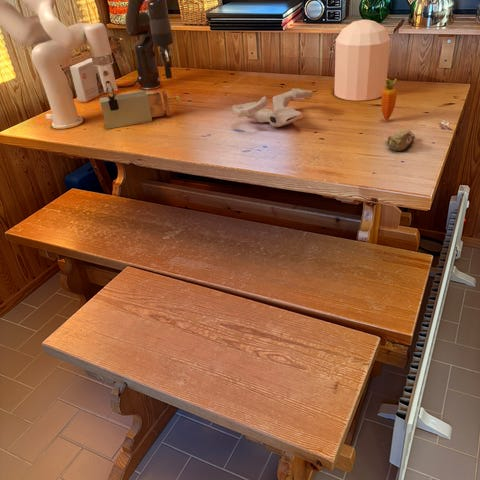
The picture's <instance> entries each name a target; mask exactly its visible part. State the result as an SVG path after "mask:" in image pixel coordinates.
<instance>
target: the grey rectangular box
mask: <svg viewBox="0 0 480 480" xmlns="http://www.w3.org/2000/svg"><path fill="white" fill-rule="evenodd" d="M147 94H148V93H147V90H143V91H136V92H129V93H123V94H117V95H116V96H115V97H116V99H117V103H118V107H119V109H118V110H113V111H111V110H110V106H109V102H108V100H109V99H108V96H105V97H104V96H103V97H100V98H99V104H100V108H101V112H102V116H103V120H104V124H105V128H106V130H109V129H114V128H119V127H127V126H133V125H137V124H143V123H150V122H153V117H151V112H150V106H149V101H148V96H147Z"/></svg>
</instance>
